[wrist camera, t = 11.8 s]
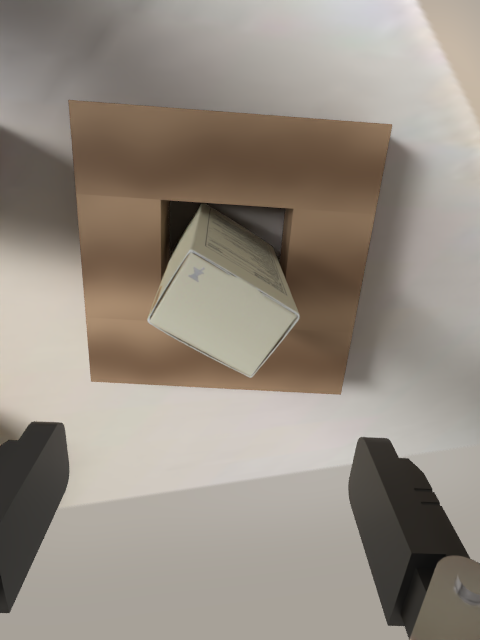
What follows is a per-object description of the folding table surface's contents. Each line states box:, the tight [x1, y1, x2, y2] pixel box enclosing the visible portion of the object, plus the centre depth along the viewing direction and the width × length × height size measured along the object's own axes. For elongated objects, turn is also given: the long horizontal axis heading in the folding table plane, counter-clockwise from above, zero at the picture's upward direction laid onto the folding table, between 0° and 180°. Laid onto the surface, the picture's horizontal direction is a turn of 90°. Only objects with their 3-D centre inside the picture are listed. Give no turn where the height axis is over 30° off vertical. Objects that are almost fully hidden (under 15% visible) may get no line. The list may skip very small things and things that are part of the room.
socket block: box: [68, 100, 392, 395], centre depth 30 cm, size 18×18×4 cm
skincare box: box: [147, 203, 300, 378], centre depth 26 cm, size 6×4×12 cm
